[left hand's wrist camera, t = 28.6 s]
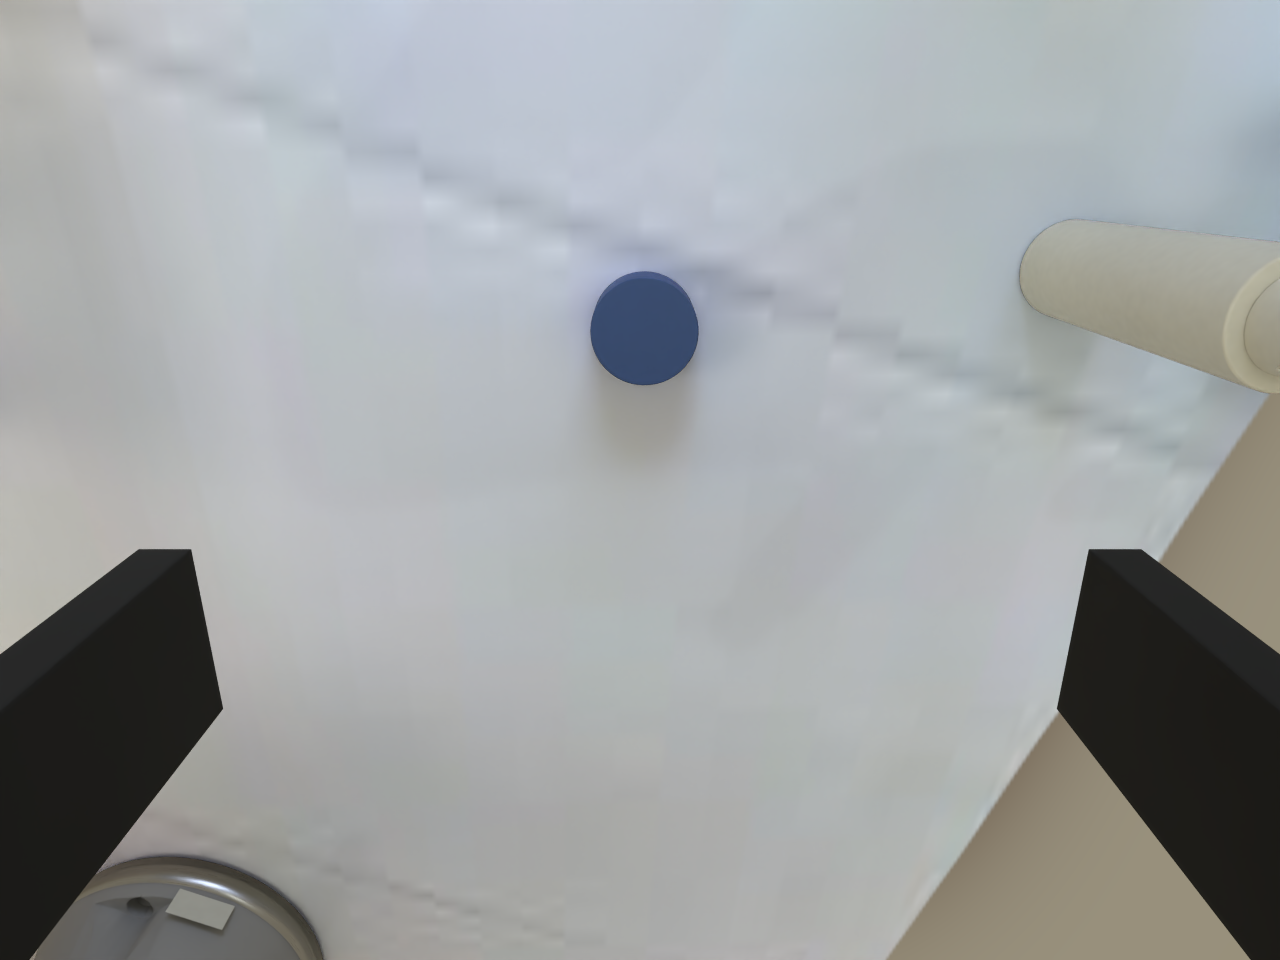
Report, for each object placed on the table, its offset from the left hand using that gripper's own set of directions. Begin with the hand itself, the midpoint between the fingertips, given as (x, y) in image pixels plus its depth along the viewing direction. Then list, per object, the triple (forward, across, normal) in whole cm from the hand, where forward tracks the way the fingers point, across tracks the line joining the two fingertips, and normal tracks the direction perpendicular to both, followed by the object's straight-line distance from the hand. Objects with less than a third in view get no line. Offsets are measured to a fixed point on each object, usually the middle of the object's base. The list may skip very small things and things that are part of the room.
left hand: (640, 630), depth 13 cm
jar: (+26, +18, +2) cm, 32 cm away
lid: (+24, 0, 0) cm, 24 cm away
